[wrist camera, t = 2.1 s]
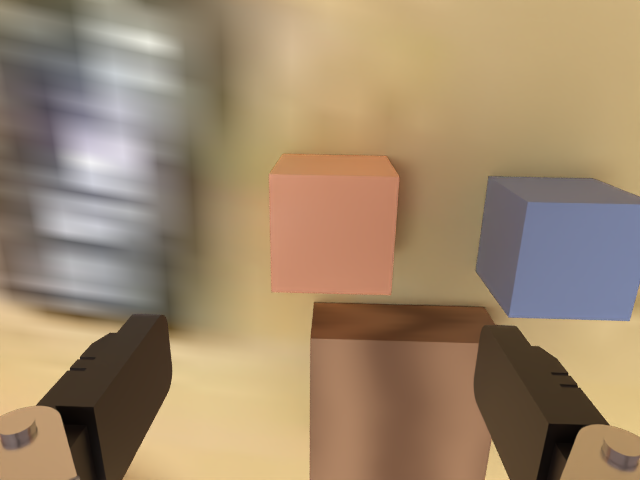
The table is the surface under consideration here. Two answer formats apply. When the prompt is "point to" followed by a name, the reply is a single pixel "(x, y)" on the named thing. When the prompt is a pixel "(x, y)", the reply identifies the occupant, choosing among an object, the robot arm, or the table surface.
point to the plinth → (396, 393)
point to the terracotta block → (333, 224)
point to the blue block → (560, 248)
